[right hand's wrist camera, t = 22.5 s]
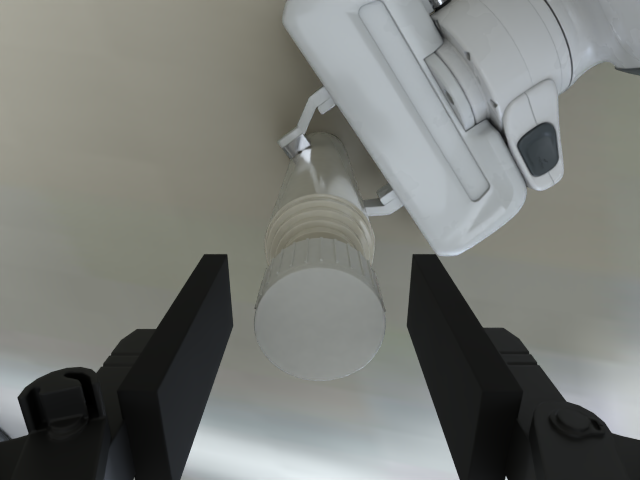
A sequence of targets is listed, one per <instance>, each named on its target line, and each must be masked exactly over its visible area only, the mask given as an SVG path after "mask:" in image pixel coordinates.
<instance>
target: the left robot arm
mask: <svg viewBox="0 0 640 480" xmlns="http://www.w3.org/2000/svg"><path fill="white" fill-rule="evenodd" d="M434 9H435V11H434ZM433 11H434V12H435V13H433V14H431V15H429V14H430V13H432V12H433ZM282 24H283V26H284V27H285V29H286V30H287V32H288V33H289V35H290V36H291V38H292V39H293V41H294V42H295V44H296V45H297V47H298V48H299V50H300V51H301V53H302V54H303V56H304V57H305V59H306V60H307V62H308V63H309V64H310V66H311V67H312V69H313V70H314V72H315V73H316V75H317V76H318V78H319V79H320V81H321V82H322V84H323V85H324V86H322V87H321V88H320V89H318V90H317V91H316V92H314V93H313V94H312V95H310V97H309V99H308V101H307V104H306V106H305V108H304V111H303V113H302V115H301V117H300V120H299V122H298V124H297V126H296V127H295V128H293V129H292V130H291V131H289V132H288V133H287V134H285V135H284V136H283V137H282V138H280V139H279V140H278V142H277V143H278V144H279V145H280V147H281V148H282V149H283V151H284V152H285V153H286V155H287V156H288V157H289V159H292V158H294V157H295V156H296V155H297V154H298V152H299V151H303V150H305V149H306V148H308V147H309V146H310V145H311V141H310V139H309V138H308V136H307V135H306V133H305V132H306V130H307V128H308V125H309V123H310V121H311V118H312V116H313V114H314V112H315V109H316V108H317V107H318V110H319V112H320V113H321V114H324V113H326V112H327V111H328V110H330V109H331V108H333V107H334V106H335V105H337V106H338V108H339V109H340V111H341V112H342V114H343V115H344V117H345V118H346V120H347V121H348V123H349V124H350V126H351V127H352V129H353V130H354V132H355V133H356V135H357V136H358V138H359V139H360V141H361V142H362V144H363V145H364V147H365V148H366V150H367V151H368V153H369V154H370V156H371V157H372V159H373V160H374V162H375V163H376V165H377V166H378V168H379V169H380V171H381V172H382V174H383V175H384V177H385V178H386V180H387V181H388V184H386V185H385V186H383V187H382V188H380V189H379V190H378V191H377V195H378V197H379V198H377V199H368V200H363V202H364V205H365V208H366V211H367V214H368V216H379V215H390V214H391V213H393V212H394V211H396V210H398V209H399V208H401V207H402V206H404V207H405V208H406V210H407V211H408V213H409V214H410V216H411V217H412V219H413V220H414V222H415V224H416V225H417V227H418V228H419V229H420V231H421V232H422V234H423V235H424V237H425V238H426V240H427V241H428V243H429V244H430V246H431V247H432V249H433V250H434V252H435V253H436V254H437V255H439V256H456V255H459V254H461V253H463V252H465V251H466V250H468V249H470V248H471V247H473V246H474V245H476V244H477V243H479V242H481V241H482V240H483V239H485V238H486V237H488V236H489V235H491V234H492V233H493V232H495V231H496V230H497V229H499V228H500V227H501V226H503V225H504V224H505V223H507V222H508V221H509V220H510V219H511V218H513V217H514V216H515V215H516V214H517V213H518V211H519V210H520V209H521V207H522V206H523V204H524V202H525V199H526V194H527V188H526V187H529V188H532V189H534V190H537V191H542V190H545V189H547V188H549V187H551V186H553V185H555V184H556V183H557V182H559V181H560V180H561V178H562V176H563V173H564V163H563V155H562V147H561V138H560V128H559V113H558V95H560V94H562V93H563V92H565V91H566V90H567V89H568V88H569V87H570V86H571V85H572V84H573V83H574V82H575V81H576V80H577V79H578V78H579V77H580V76H581V75H582V74H583V73H585V72H586V71H587V70H589V69H590V68H592V67H593V66H595V65H597V64H599V63H603V62H610V63H612V64H614V65H615V69H616V70H619V71H623V72H626V73H630V74H635V75H640V0H287V2H286V3H285V6H284V10H283V16H282Z"/></svg>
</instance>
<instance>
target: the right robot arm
mask: <svg viewBox="0 0 640 480" xmlns="http://www.w3.org/2000/svg"><path fill="white" fill-rule="evenodd" d="M232 328H233V317H232V305H231V293H230V281H229V269H228V258H227V254H204V255H203V257H202V259H201V260H200V262H199V263H198V265H197V266H196V268H195V269H194V271H193V273H192V274H191V276H190V277H189V279H188V280H187V282H186V284H185V285H184V287H183V288H182V290H181V291H180V293H179V294H178V296H177V298H176V299H175V301H174V302H173V304H172V305H171V307H170V308H169V310H168V312H167V313H166V315H165V316H164V318H163V319H162V321H161V323H160V324H159V326H158V327H157V329H136V330H135V331H134V332H132V333H131V334H129V335H128V336H126V337H125V338H124V339H122V340H121V341H120V342H119V344H118V345H117V346H116V348H115V349H114V350H113V352H112V353H111V356H109V357H108V358H107V360H106V361H105V362H104V364H103V367H101V368H100V369H99V370H98V372H97V373H95V372H94V371H93V370H92V369H88V368H83V367H74V368H65V369H61V370H58V371H54V372H51V373H49V374H47V375H44V376H42V377H40V378H38V379H36V380H35V381H34V382H32V383H31V384H29V385H28V386H27V387H25V388H24V390H23V391H22V392H21V394H20V395H19V396H18V401H19V404H20V407H21V410H22V414H23V417H24V420H25V423H26V426H27V430H28V433H29V434H28V435H26V436H23V437H20V438H16V439H11V440H9V439H8V437H7V436H6V435H5V434H4V433H2V432H1V431H0V480H133V479H134V477H135V480H180V479H181V476H182V473H183V470H184V467H185V464H186V461H187V458H188V456H189V453H190V450H191V447H192V444H193V441H194V438H195V435H196V432H197V429H198V427H199V424H200V421H201V418H202V415H203V412H204V409H205V406H206V403H207V400H208V398H209V395H210V392H211V389H212V386H213V383H214V380H215V377H216V374H217V371H218V368H219V366H220V363H221V360H222V357H223V354H224V351H225V348H226V345H227V342H228V339H229V337H230V334H231V331H232ZM407 328H408V331H409V334H410V337H411V339H412V342H413V345H414V348H415V351H416V354H417V357H418V360H419V363H420V366H421V368H422V371H423V374H424V377H425V380H426V383H427V386H428V389H429V392H430V395H431V398H432V400H433V403H434V406H435V409H436V412H437V415H438V418H439V421H440V424H441V427H442V429H443V432H444V435H445V438H446V441H447V444H448V447H449V450H450V453H451V456H452V458H453V461H454V464H455V467H456V470H457V473H458V476H459V479H460V480H505V477H507V479H508V480H640V440H637V439H632V438H628V437H624V436H620V435H616V434H613V433H611V431H610V430H609V428H608V427H607V425H606V424H605V422H603V421H602V420H601V419H600V418H599V417H597V416H596V415H595V414H594V413H592V412H590V411H589V410H587V409H585V408H583V407H581V406H579V405H576V404H572V403H569V402H566V400H565V399H564V398H563V396H562V395H561V394H560V392H559V391H558V390H557V388H556V387H555V386H554V384H553V383H552V382H551V380H550V379H549V378H548V376H547V375H546V374H545V372H544V371H543V370H542V368H541V367H540V366H539V365H537V362H536V360H535V359H534V358H533V356H532V355H531V354H529V351H528V350H527V348H526V347H525V346H524V345H523V343H522V342H521V341H520V339H519V338H517V337H516V336H514V335H513V334H511V333H510V332H509V331H507V330H506V329H504V328H483V327H482V326H481V324H480V323H479V321H478V319H477V318H476V316H475V315H474V313H473V312H472V310H471V308H470V307H469V305H468V304H467V302H466V301H465V299H464V298H463V296H462V294H461V293H460V291H459V290H458V288H457V287H456V285H455V284H454V282H453V280H452V279H451V277H450V276H449V274H448V273H447V271H446V269H445V268H444V266H443V265H442V263H441V262H440V260H439V259H438V257H437V255H436V254H413V258H412V269H411V281H410V293H409V305H408V317H407Z"/></svg>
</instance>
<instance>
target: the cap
mask: <svg viewBox="0 0 640 480" xmlns="http://www.w3.org/2000/svg"><path fill="white" fill-rule="evenodd" d="M255 309H256V312H255V318H254V329H255V335H256V339H257V342H258V344H259V346H260V348H261V350H262V351H263V353H264V355H265V356H266V357H267V358H268V359H269V361H271V362H272V363H273V364H274V365H275V366H276V367H278V368H279V369H281V370H282V371H284V372H286V373H288V374H290V375H292V376H295V377H298V378H301V379H306V380H313V381H327V380H334V379H338V378H342V377H345V376H347V375H350V374H352V373H354V372H356V371H358V370H359V369H361V368H362V367H363V366H365V365H366V364H367V363H368V362H369V361H370V360H371V359H372V358H373V357H374V355H375V354H376V353H377V351H378V349H379V348H380V346H381V343H382V341H383V338H384V334H385V327H386V322H385V314H384V312H385V307H384V303H383V300H382V295H381V291H380V288H379V284H378V281H377V277H376V274H375V271H373V270H372V268H371V266H370V262H369V260H366V259H365V258H364V257H363V255H362V254H361V252H360V251H357V250H356V249H354V248H353V247H351V246H350V244H348V243H347V244H345V243H343V242H341V241H337V239H328V238H323V237H320V238H311V239H309V238H306V240H302V241H299V242H296V243H295V242H294V243H293V244H292V245H290V246H288V247H287V248H285V249H282V250H281V252H280V253H279V254H278V255H277V256H276V257H275V258H273V259H272V261H271V264H270V266H269V268H268V269H267V268H266V270H265V274H264V277H263V280H262V283H261V287H260V290H259V294H258V298H257V301H256V305H255Z"/></svg>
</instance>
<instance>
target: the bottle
mask: <svg viewBox="0 0 640 480" xmlns="http://www.w3.org/2000/svg"><path fill="white" fill-rule="evenodd" d="M307 136H308V138H309V139H310V141H311V145H310V146H309V147H308V148H306V149H305V150H303V151H299V152H298V154H297V155H296V156H295V157H294V158H292V159H291V160H290V163H289V166H288V169H287V172H286V175H285V178H284V181H283V184H282V187H281V190H280V193H279V196H278V199H277V202H276V205H275V208H274V211H273V214H272V216H271V219H270V222H269V225H268V228H267V231H266V236H265V254H266V258H267V263H268V266H270V264H271V261H272V259H273V258H275V257H276V256H277V255H278V254H279V253H280V252H281V250H282V249H285V248H287V247H288V246H290V245H292V244H293V243H294V242H295V243H296V242H299V241H302V240H306V238H309V239H311V238H320V237H323V238H328V239H337V241H341V242H343V243H345V244H347V243H348V244H350V246H351V247H353V248H354V249H356V250H357V251H360V252H361V254H362V255H363V257H364V258H365V259H366V260H369V262H370V266H371V265H372V262H373V257H374V253H375V237H374V233H373V229H372V226H371V223H370V220H369V217H368V214H367V211H366V208H365V205H364V202H363V199H362V197H361V194H360V191H359V188H358V185H357V182H356V179H355V176H354V173H353V170H352V167H351V164H350V161H349V158H348V155H347V152H346V150H345V147H344V145H343V144H342V142H341V141H340V140H339V139H338V138H336V137H335V136H333V135H332V134H329V133H326V132H314V133H311V134H308V135H307Z"/></svg>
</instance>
